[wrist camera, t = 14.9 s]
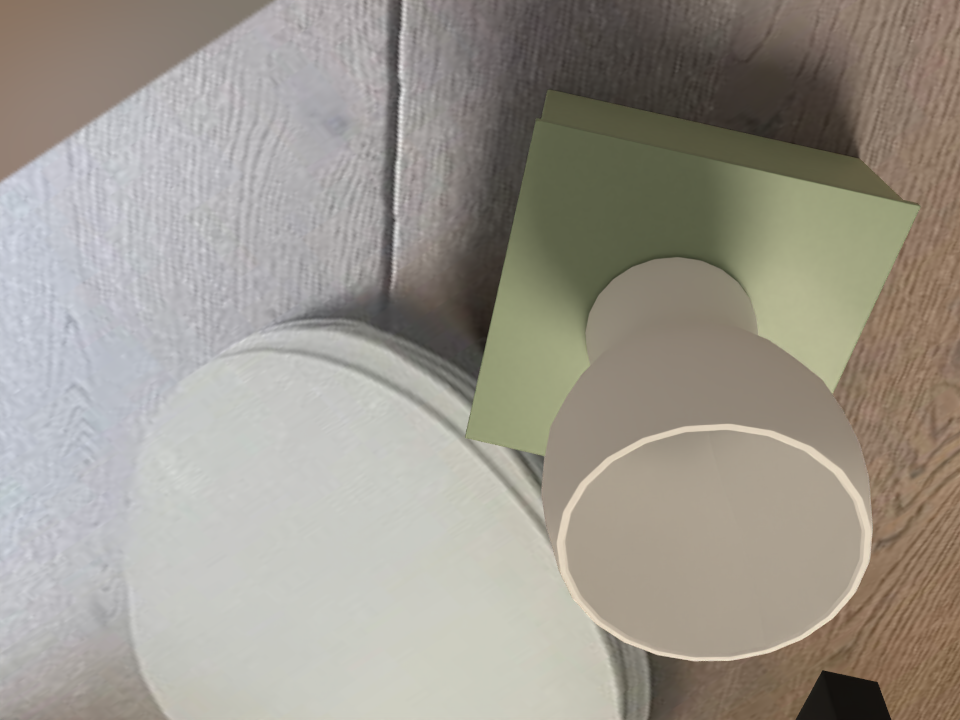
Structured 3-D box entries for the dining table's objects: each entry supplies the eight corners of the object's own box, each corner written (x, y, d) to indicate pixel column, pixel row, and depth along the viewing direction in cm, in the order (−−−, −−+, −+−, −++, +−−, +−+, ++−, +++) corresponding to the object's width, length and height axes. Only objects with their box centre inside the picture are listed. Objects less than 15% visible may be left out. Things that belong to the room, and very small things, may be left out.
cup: (774, 199, 36) (881, 373, 23) (801, 410, 40) (903, 656, 27) (530, 254, 38) (498, 440, 25) (582, 447, 43) (578, 689, 30)
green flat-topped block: (544, 83, 42) (535, 119, 35) (866, 155, 42) (921, 206, 35) (482, 363, 50) (464, 438, 43) (752, 424, 50) (778, 509, 43)
